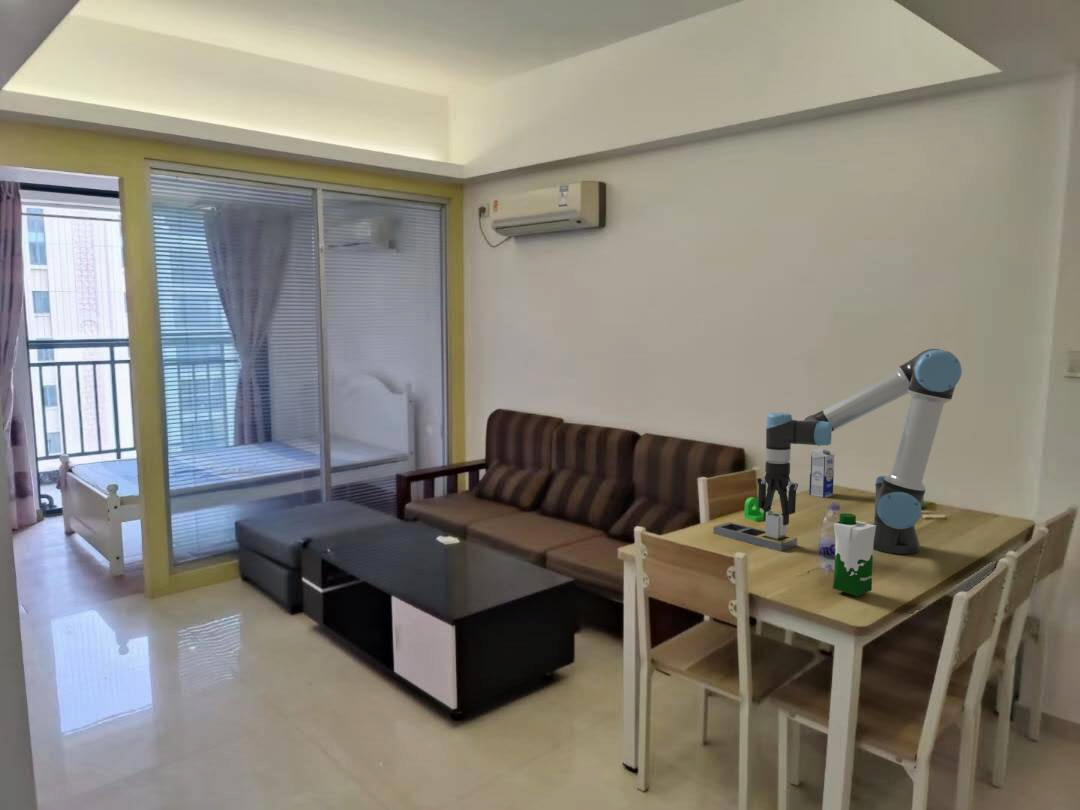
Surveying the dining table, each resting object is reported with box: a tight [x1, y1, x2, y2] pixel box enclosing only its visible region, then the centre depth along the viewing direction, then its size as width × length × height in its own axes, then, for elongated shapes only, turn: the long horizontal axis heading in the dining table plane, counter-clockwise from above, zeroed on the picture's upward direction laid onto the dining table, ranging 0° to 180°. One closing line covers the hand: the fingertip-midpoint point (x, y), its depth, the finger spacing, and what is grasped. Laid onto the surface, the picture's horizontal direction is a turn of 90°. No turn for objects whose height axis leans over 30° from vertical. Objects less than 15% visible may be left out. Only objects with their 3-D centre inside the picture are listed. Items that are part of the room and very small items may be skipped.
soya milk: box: [832, 513, 876, 597], centre depth 195 cm, size 9×9×20 cm
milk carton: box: [808, 447, 835, 499], centre depth 301 cm, size 7×7×20 cm
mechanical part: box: [743, 496, 777, 522], centre depth 269 cm, size 12×6×8 cm, turn 115°
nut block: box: [765, 512, 787, 541], centre depth 236 cm, size 4×4×8 cm
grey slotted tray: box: [712, 521, 798, 552], centre depth 243 cm, size 26×9×3 cm, turn 40°
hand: (775, 532), depth 236 cm, fingers closed on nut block, 4 cm apart
